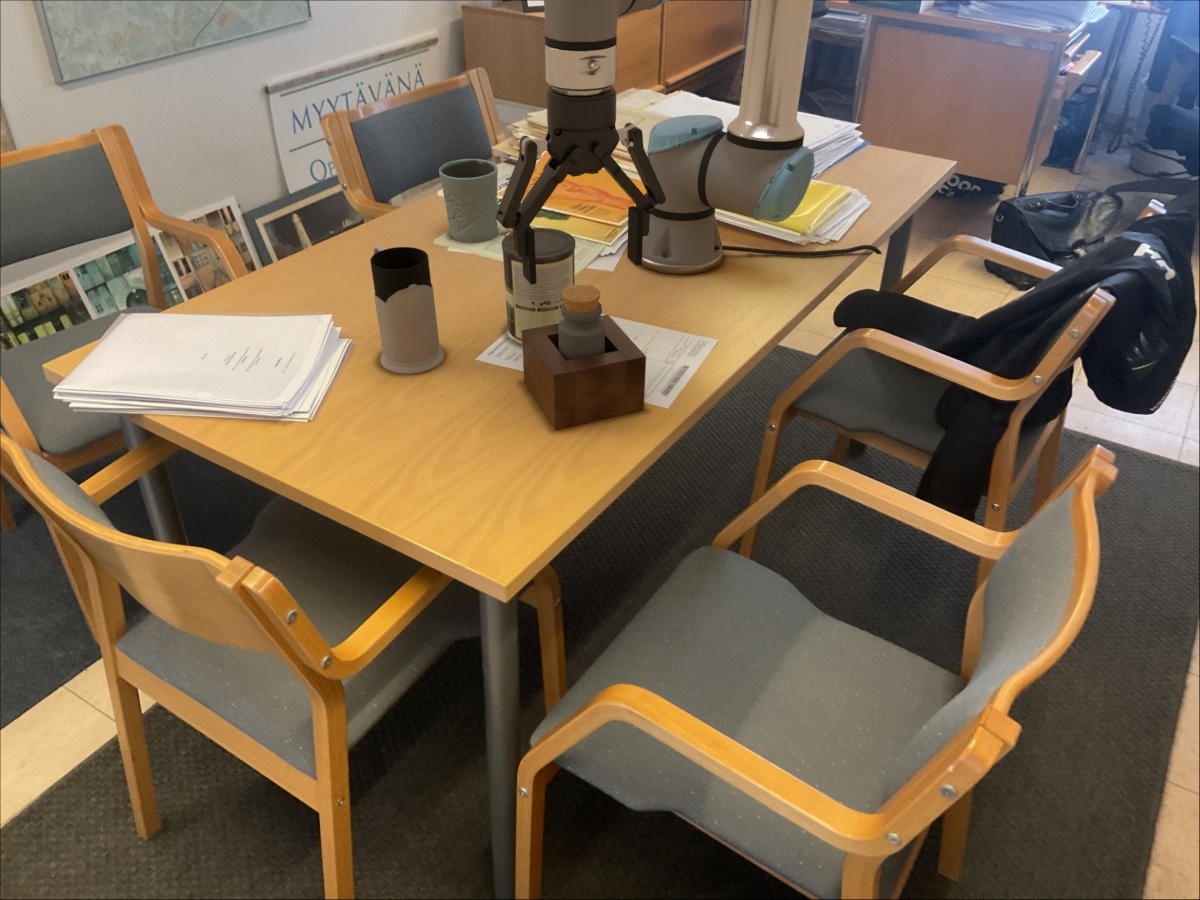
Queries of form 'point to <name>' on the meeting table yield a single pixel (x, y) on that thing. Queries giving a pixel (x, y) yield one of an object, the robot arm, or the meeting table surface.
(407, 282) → the glass holder
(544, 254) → the coffee can
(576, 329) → the bottle
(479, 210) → the grey cup
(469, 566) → the meeting table surface
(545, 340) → the bottle stand
